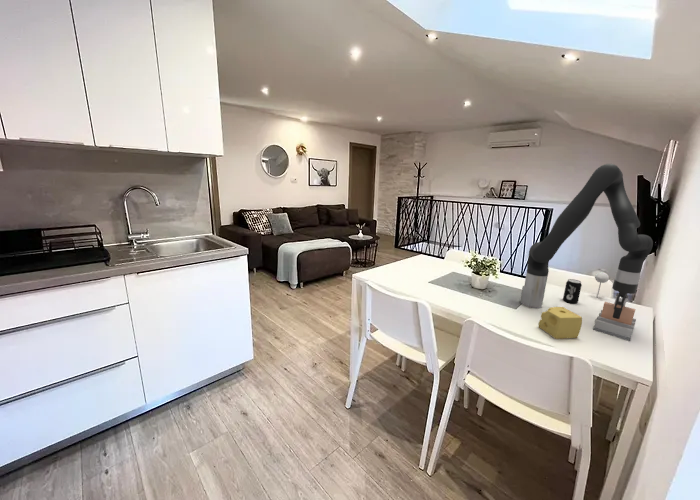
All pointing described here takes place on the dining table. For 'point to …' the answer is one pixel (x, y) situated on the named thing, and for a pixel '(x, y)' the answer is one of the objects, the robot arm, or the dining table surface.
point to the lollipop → (601, 279)
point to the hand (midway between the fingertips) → (617, 315)
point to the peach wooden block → (625, 315)
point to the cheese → (560, 323)
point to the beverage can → (572, 291)
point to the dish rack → (614, 327)
